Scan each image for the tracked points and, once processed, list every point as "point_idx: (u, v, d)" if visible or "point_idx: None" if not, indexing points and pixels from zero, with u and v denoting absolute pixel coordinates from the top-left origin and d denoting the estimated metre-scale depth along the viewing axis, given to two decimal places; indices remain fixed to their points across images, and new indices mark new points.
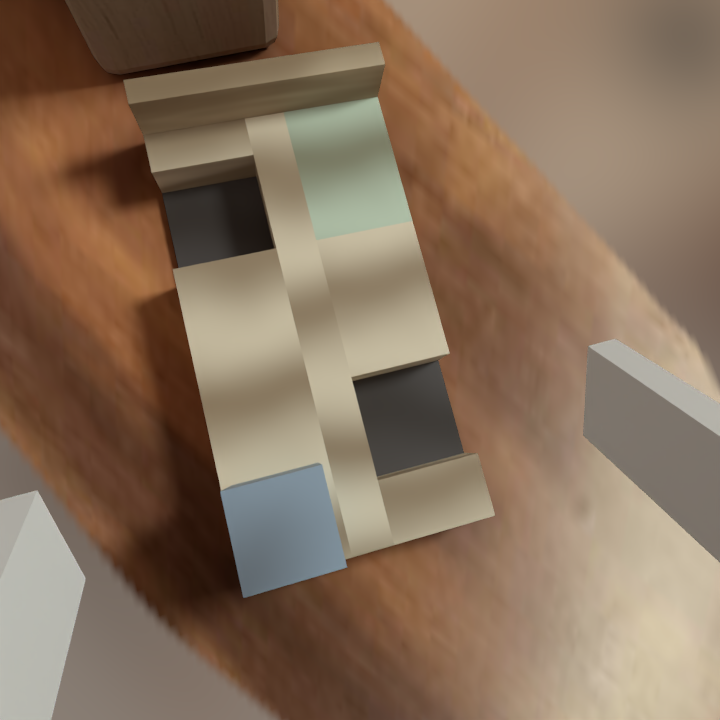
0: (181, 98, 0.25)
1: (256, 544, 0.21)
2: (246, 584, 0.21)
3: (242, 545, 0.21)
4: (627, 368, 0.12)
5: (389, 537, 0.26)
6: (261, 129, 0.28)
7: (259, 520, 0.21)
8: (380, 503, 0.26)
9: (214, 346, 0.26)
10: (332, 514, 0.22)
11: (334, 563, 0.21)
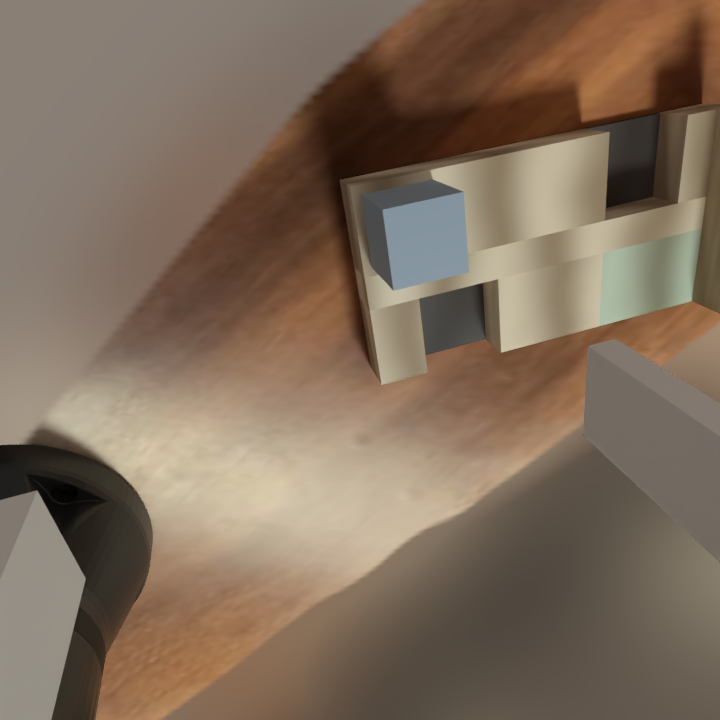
0: None
1: (420, 220, 0.26)
2: (392, 212, 0.26)
3: (421, 209, 0.26)
4: (627, 368, 0.12)
5: (375, 307, 0.32)
6: (694, 210, 0.34)
7: (437, 223, 0.26)
8: (401, 300, 0.32)
9: (542, 166, 0.31)
10: (432, 279, 0.28)
11: (397, 281, 0.27)
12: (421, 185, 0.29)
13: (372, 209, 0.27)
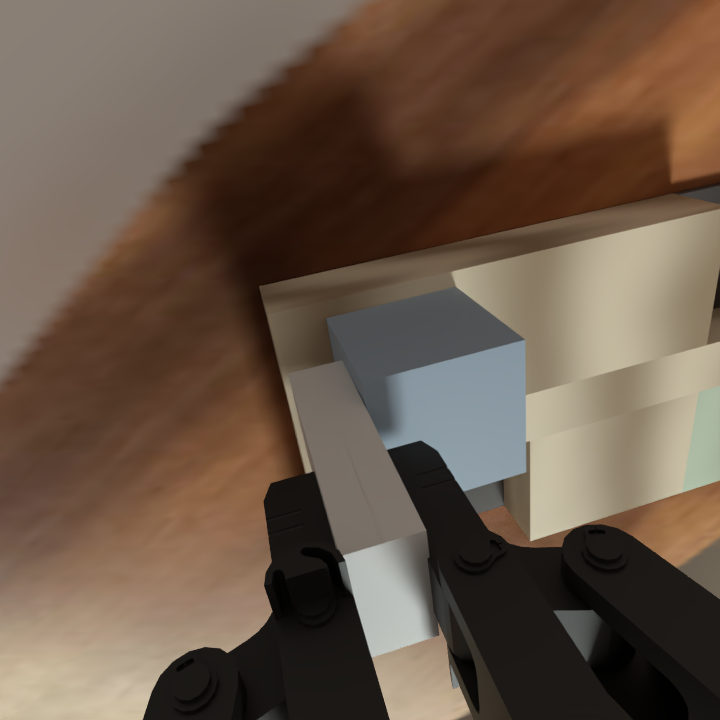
0: None
1: (437, 396, 0.13)
2: (382, 386, 0.13)
3: (441, 375, 0.13)
4: (327, 389, 0.14)
5: None
6: None
7: (471, 398, 0.13)
8: None
9: (613, 266, 0.18)
10: None
11: None
12: (436, 303, 0.16)
13: (344, 360, 0.14)
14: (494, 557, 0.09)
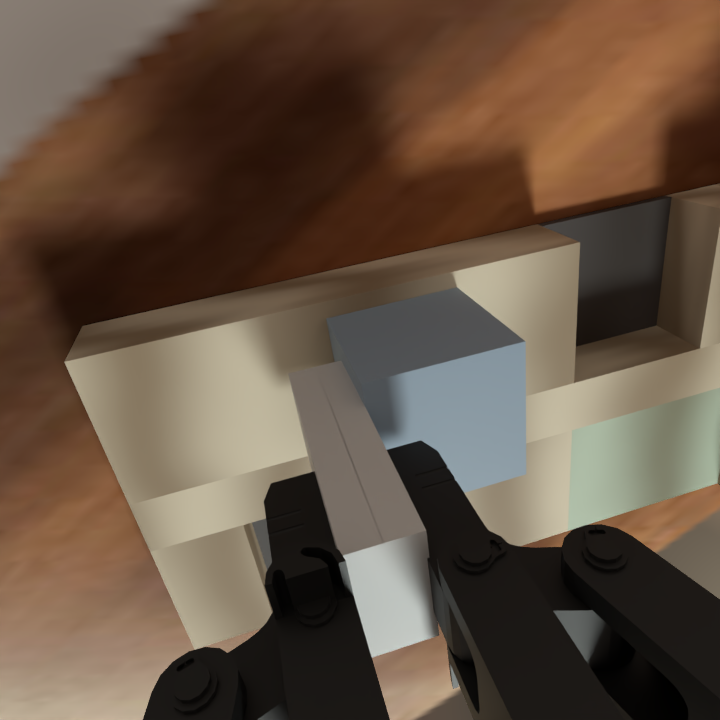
0: None
1: (437, 397, 0.13)
2: (381, 387, 0.13)
3: (440, 377, 0.13)
4: (327, 389, 0.14)
5: (161, 545, 0.18)
6: None
7: (470, 399, 0.13)
8: (210, 530, 0.18)
9: None
10: None
11: None
12: (437, 304, 0.16)
13: (344, 361, 0.14)
14: (494, 557, 0.09)
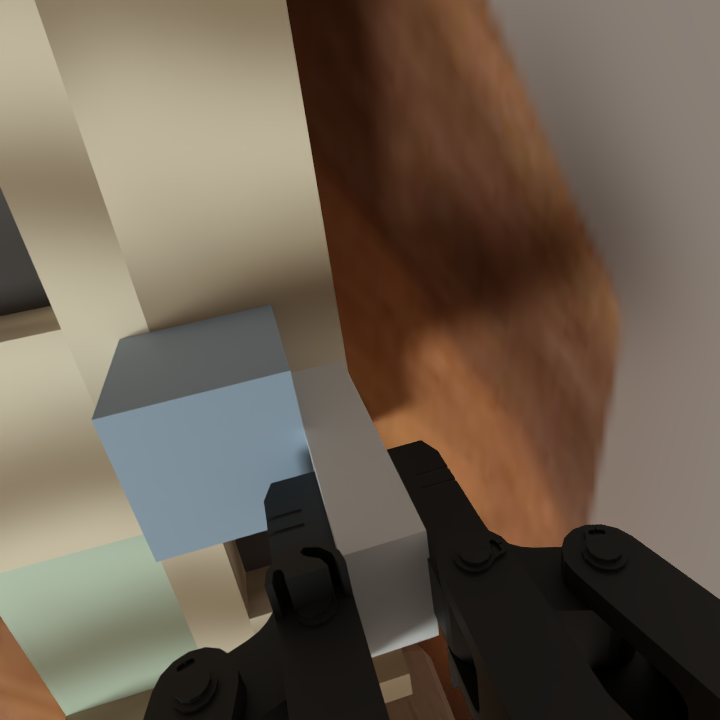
0: None
1: (267, 448, 0.12)
2: (284, 391, 0.12)
3: (291, 446, 0.12)
4: (327, 389, 0.14)
5: None
6: None
7: (261, 480, 0.13)
8: None
9: None
10: (130, 496, 0.12)
11: (118, 425, 0.11)
12: None
13: (264, 338, 0.13)
14: (495, 557, 0.09)
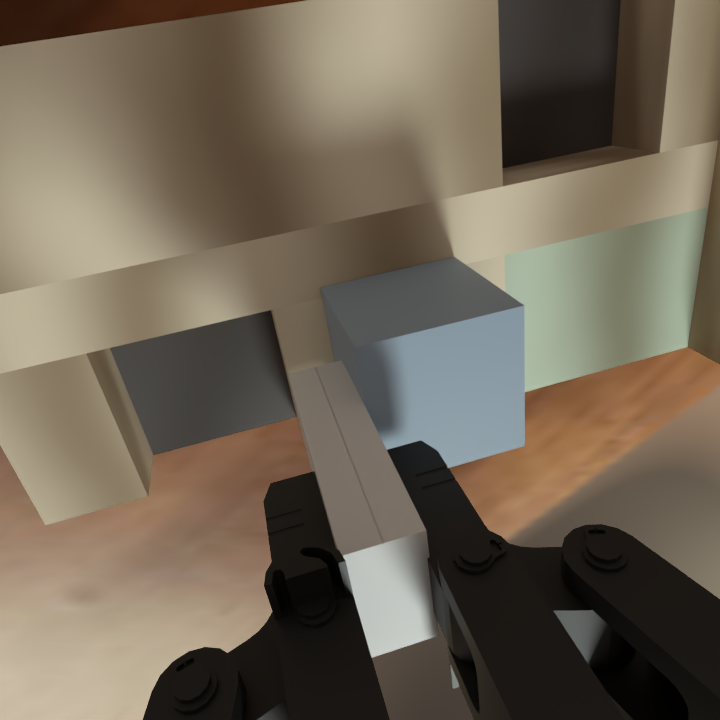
0: None
1: (433, 363, 0.13)
2: (375, 351, 0.12)
3: (436, 342, 0.12)
4: (327, 389, 0.14)
5: None
6: (693, 168, 0.17)
7: (467, 366, 0.13)
8: (42, 358, 0.14)
9: (338, 51, 0.13)
10: (454, 463, 0.14)
11: None
12: (434, 272, 0.15)
13: (338, 328, 0.14)
14: (495, 557, 0.09)
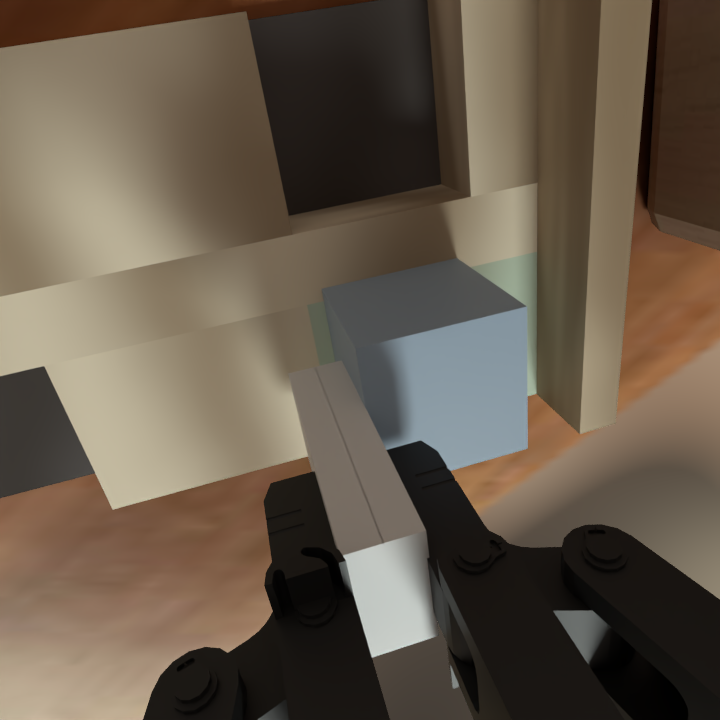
0: (592, 73, 0.12)
1: (434, 364, 0.13)
2: (376, 352, 0.12)
3: (438, 343, 0.12)
4: (327, 389, 0.14)
5: None
6: (513, 212, 0.16)
7: (469, 368, 0.13)
8: None
9: (71, 97, 0.12)
10: (456, 466, 0.14)
11: None
12: (436, 273, 0.15)
13: (339, 329, 0.14)
14: (495, 557, 0.09)
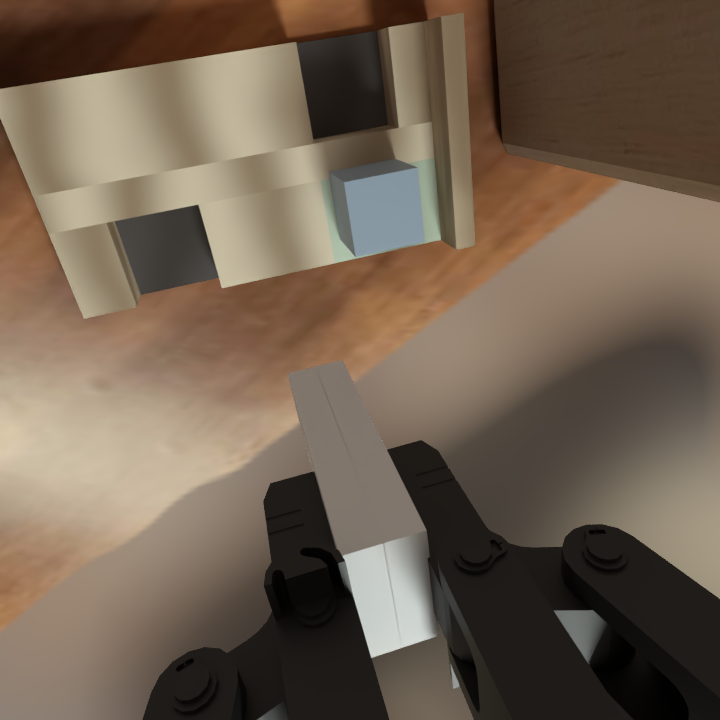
0: (443, 68, 0.29)
1: (378, 193, 0.29)
2: (352, 184, 0.29)
3: (379, 182, 0.29)
4: (327, 389, 0.14)
5: (55, 230, 0.30)
6: (421, 136, 0.32)
7: (394, 196, 0.29)
8: (85, 224, 0.30)
9: (222, 78, 0.29)
10: (391, 248, 0.31)
11: (359, 248, 0.30)
12: (383, 163, 0.32)
13: (337, 183, 0.30)
14: (495, 557, 0.09)
